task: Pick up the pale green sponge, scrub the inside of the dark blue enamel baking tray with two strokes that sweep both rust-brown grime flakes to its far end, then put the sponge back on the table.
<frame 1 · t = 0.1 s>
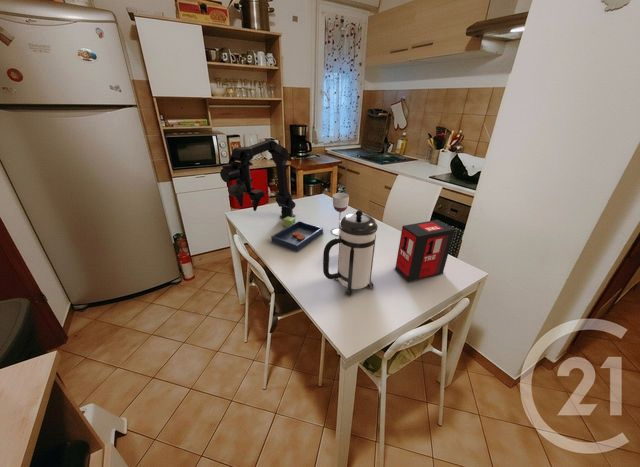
hand: (248, 208, 126), 15 cm above the table, tool pointing down, fingers open, 9 cm apart
cleaning product box: (418, 271, 107), on the table
sponge: (289, 226, 143), on the table
wineglass: (339, 232, 137), on the table
coffee press: (350, 285, 99), on the table
grime a: (296, 235, 132), point 1 cm above the table, touching tray
grime b: (300, 238, 129), point 1 cm above the table, touching tray
tray: (298, 237, 131), on the table
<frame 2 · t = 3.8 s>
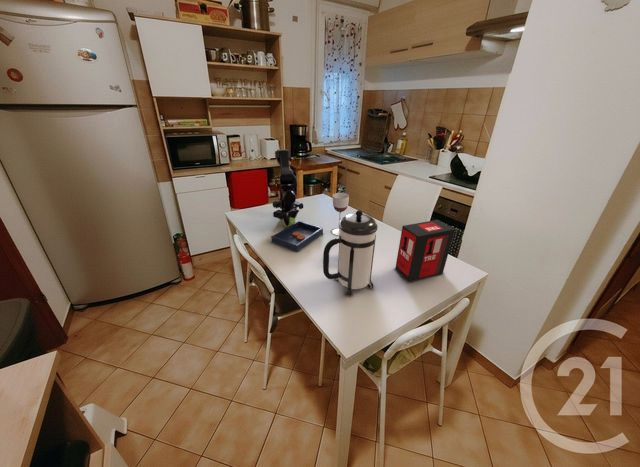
hand: (289, 224, 142), 1 cm above the table, tool pointing down, fingers closed on sponge, 4 cm apart
sponge: (289, 226, 143), on the table, touching gripper
everything else where it was.
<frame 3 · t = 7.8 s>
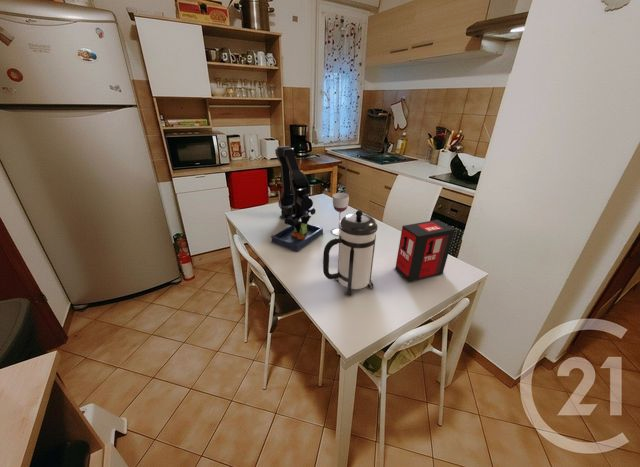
hand: (300, 230, 134), 2 cm above the table, tool pointing down, fingers closed on sponge, 4 cm apart
sponge: (300, 232, 135), point 1 cm above the table, touching gripper
grime a: (295, 235, 131), point 1 cm above the table, touching gripper, tray
everything else where it was.
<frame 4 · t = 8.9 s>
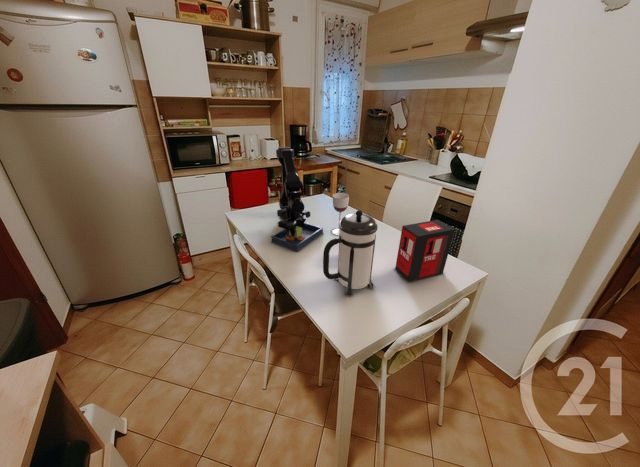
hand: (295, 234, 131), 2 cm above the table, tool pointing down, fingers closed on sponge, 4 cm apart
sponge: (295, 235, 131), point 1 cm above the table, touching gripper
grime a: (290, 239, 128), point 1 cm above the table, touching gripper
everything else where it was.
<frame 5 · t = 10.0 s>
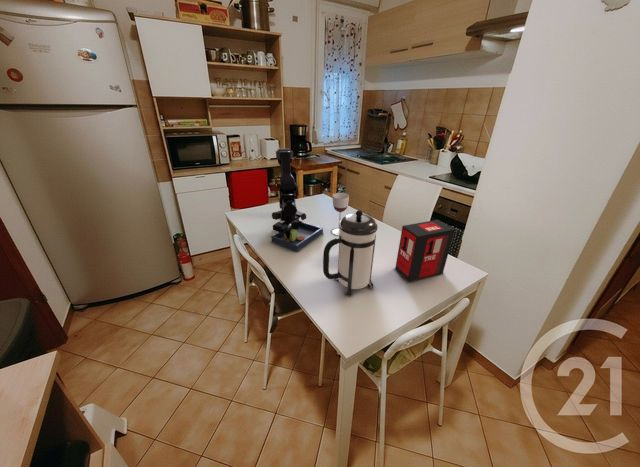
hand: (291, 237, 128), 2 cm above the table, tool pointing down, fingers closed on sponge, 4 cm apart
sponge: (291, 238, 129), point 1 cm above the table, touching gripper
grime a: (285, 242, 126), point 1 cm above the table, touching gripper, tray
everything else where it was.
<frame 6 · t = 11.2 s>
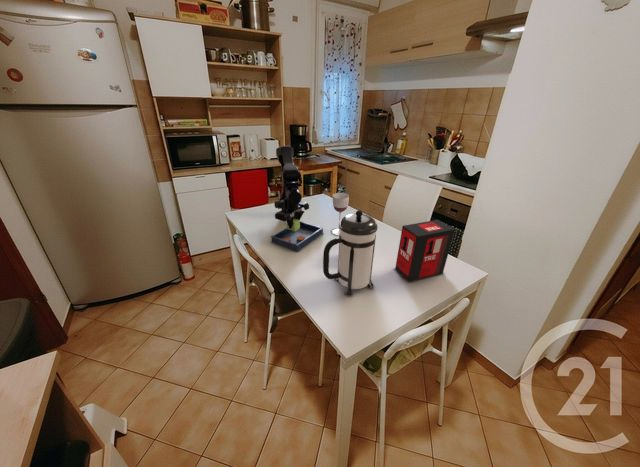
hand: (293, 227, 127), 7 cm above the table, tool pointing down, fingers closed on sponge, 4 cm apart
sponge: (293, 228, 127), point 6 cm above the table, touching gripper
grime a: (286, 241, 126), point 1 cm above the table, touching tray
everything else where it was.
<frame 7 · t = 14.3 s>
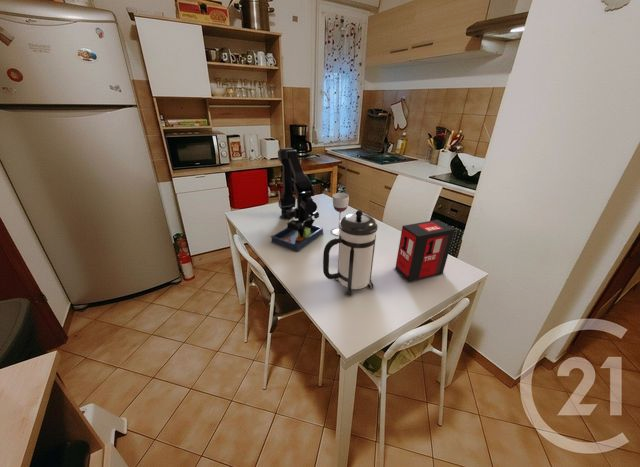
hand: (304, 235, 130), 2 cm above the table, tool pointing down, fingers closed on sponge, 4 cm apart
sponge: (304, 236, 131), point 1 cm above the table, touching gripper
grime b: (299, 240, 127), point 1 cm above the table, touching gripper
everything else where it was.
when the fingers open (1 cm above the table, at t = 21.1 s): sponge stays where it is, on the table.
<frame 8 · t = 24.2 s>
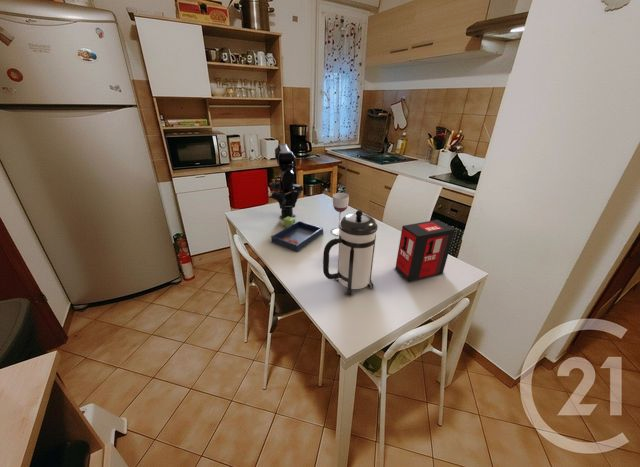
hand: (288, 207, 138), 11 cm above the table, tool pointing down, fingers open, 9 cm apart
sponge: (289, 226, 143), on the table
grime b: (293, 244, 124), point 1 cm above the table, touching tray
everything else where it was.
at the end: grime a inside the target area (1.0 cm from its centre), point 0.8 cm above the table; grime b inside the target area (3.6 cm from its centre), point 0.8 cm above the table; sponge inside the target area (0.5 cm from its centre), on the table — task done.
